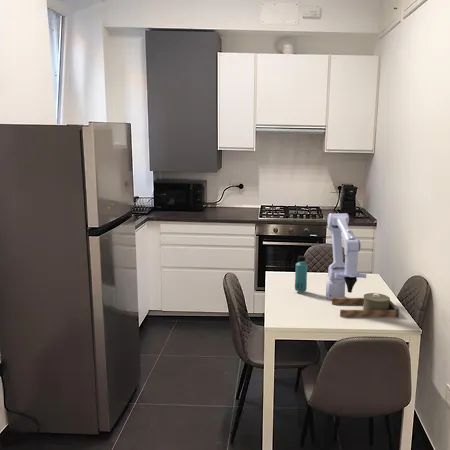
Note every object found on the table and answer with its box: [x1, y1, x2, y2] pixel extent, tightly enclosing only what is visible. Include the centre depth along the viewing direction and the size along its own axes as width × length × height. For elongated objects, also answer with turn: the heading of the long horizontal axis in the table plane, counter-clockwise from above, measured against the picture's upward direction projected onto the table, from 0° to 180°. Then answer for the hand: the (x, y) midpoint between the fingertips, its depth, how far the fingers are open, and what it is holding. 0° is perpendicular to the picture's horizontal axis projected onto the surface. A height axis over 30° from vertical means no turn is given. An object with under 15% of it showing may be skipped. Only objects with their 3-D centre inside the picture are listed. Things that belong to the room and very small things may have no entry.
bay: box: [331, 297, 400, 318], centre depth 218 cm, size 27×18×4 cm
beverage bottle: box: [294, 255, 308, 292], centre depth 242 cm, size 6×7×20 cm
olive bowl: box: [362, 292, 391, 310], centre depth 217 cm, size 12×12×7 cm
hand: (349, 291), depth 217 cm, fingers closed
